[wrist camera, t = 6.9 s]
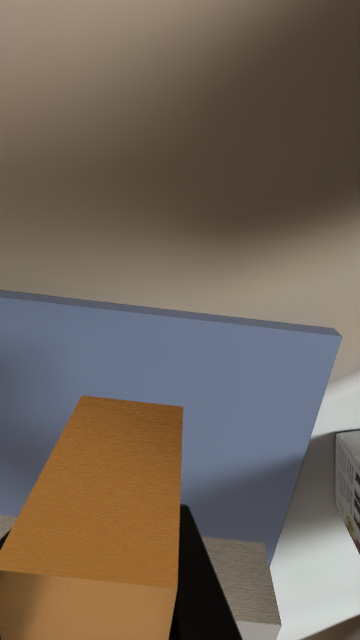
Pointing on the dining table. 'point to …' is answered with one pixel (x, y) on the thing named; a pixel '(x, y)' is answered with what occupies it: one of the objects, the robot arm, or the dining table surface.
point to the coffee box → (348, 482)
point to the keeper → (168, 398)
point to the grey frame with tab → (116, 536)
